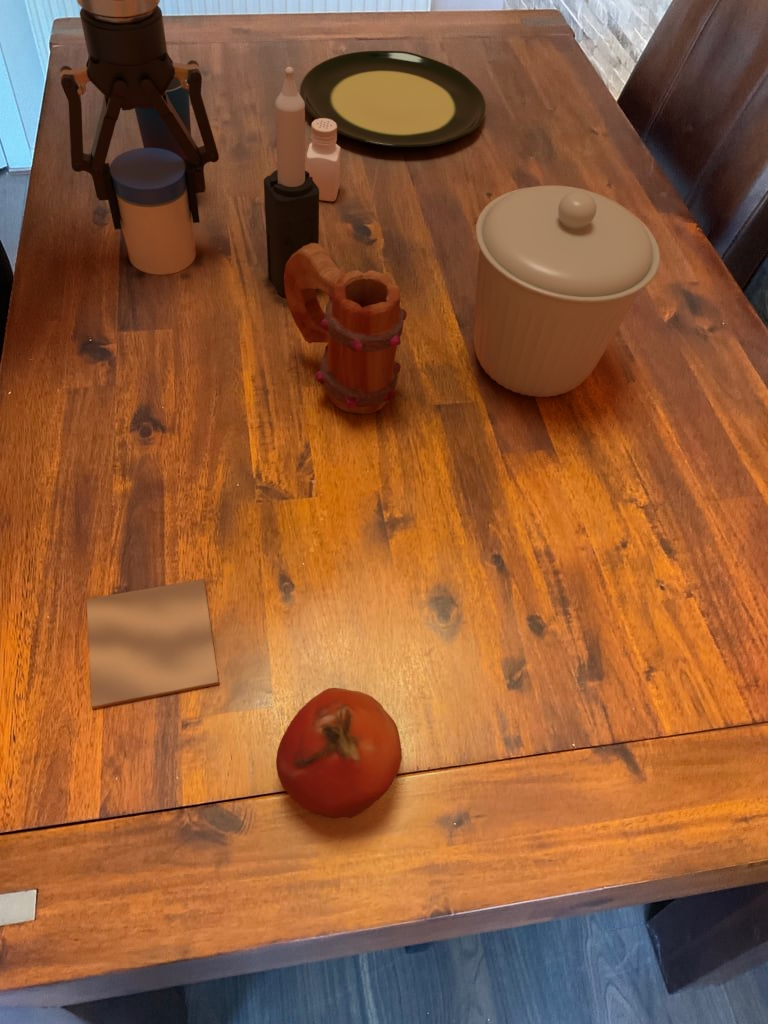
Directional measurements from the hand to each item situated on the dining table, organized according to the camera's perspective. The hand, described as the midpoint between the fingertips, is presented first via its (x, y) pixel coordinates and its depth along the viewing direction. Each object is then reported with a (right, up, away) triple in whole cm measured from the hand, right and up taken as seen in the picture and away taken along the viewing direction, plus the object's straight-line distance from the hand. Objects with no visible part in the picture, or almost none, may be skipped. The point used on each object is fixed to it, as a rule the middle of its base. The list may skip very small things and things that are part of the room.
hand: (156, 218), depth 93 cm
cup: (-1, +7, +11) cm, 14 cm away
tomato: (+23, -54, -31) cm, 67 cm away
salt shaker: (+18, +8, +14) cm, 25 cm away
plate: (+28, +27, +28) cm, 48 cm away
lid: (0, +4, -5) cm, 6 cm away
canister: (+43, -17, -2) cm, 47 cm away
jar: (0, -3, +4) cm, 5 cm away
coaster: (+7, -45, -26) cm, 53 cm away
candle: (+16, -7, +3) cm, 17 cm away
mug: (+22, -20, -6) cm, 30 cm away
